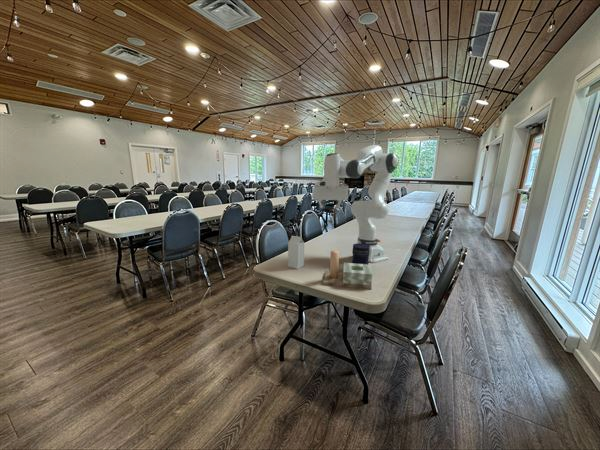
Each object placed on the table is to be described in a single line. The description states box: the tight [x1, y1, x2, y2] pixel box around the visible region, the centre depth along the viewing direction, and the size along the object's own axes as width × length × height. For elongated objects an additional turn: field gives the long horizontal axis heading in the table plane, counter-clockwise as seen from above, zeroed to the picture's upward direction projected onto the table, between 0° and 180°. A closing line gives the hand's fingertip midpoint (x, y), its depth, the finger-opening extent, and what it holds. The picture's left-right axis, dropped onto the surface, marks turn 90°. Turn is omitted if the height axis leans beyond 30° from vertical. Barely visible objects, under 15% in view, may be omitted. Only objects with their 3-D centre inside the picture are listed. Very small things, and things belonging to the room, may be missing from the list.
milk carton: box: [287, 235, 305, 270], centre depth 151 cm, size 7×7×19 cm
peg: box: [329, 250, 340, 278], centre depth 133 cm, size 4×4×14 cm
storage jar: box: [351, 242, 370, 265], centre depth 148 cm, size 10×10×15 cm
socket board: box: [322, 262, 373, 290], centre depth 132 cm, size 24×16×8 cm, turn 79°
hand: (329, 208), depth 140 cm, fingers open, 8 cm apart
